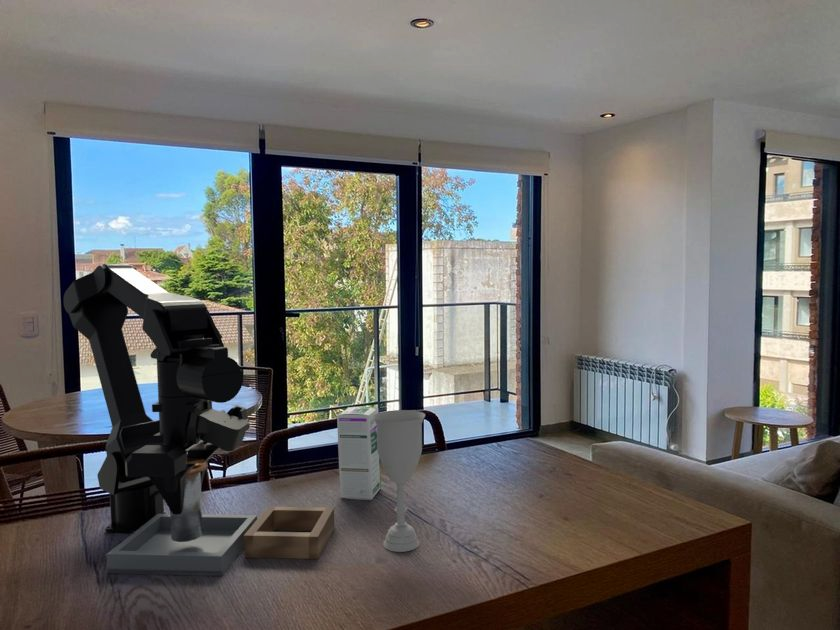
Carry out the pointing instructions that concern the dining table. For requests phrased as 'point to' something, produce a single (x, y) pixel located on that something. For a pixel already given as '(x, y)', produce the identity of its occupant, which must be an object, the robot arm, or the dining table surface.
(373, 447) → the syrup box
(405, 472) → the chalice
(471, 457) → the dining table surface
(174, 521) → the glass jar
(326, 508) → the square wooden frame
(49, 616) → the dining table surface
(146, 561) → the tray
